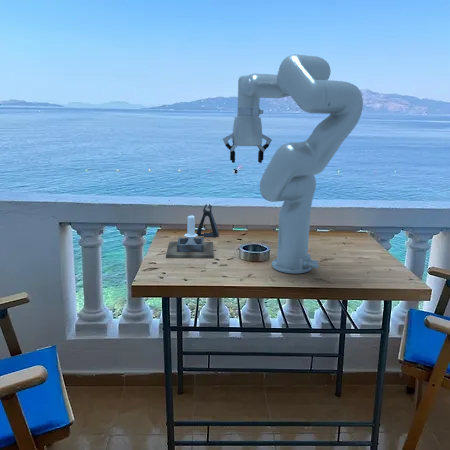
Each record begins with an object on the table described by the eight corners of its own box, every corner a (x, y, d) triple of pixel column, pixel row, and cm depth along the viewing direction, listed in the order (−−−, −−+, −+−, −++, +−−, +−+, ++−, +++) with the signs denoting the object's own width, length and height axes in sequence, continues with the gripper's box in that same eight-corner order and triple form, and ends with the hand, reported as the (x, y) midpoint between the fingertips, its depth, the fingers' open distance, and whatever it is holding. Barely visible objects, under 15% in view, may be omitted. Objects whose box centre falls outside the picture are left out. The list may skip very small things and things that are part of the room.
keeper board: (212, 244, 169) (213, 235, 168) (213, 258, 153) (214, 248, 152) (169, 244, 168) (169, 234, 167) (165, 258, 153) (165, 247, 152)
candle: (191, 245, 164) (191, 212, 161) (201, 248, 161) (202, 215, 158) (180, 248, 160) (180, 214, 157) (190, 251, 157) (190, 217, 154)
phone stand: (218, 233, 184) (219, 204, 181) (218, 237, 178) (218, 207, 175) (196, 232, 184) (196, 203, 181) (195, 236, 178) (195, 206, 175)
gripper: (270, 113, 163) (268, 161, 167) (222, 112, 161) (221, 161, 165) (275, 113, 156) (272, 163, 160) (224, 112, 154) (223, 163, 158)
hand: (246, 162), depth 163 cm, fingers open, 9 cm apart
